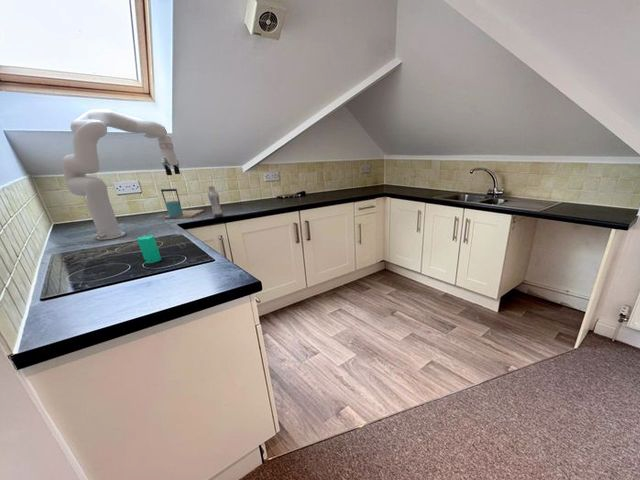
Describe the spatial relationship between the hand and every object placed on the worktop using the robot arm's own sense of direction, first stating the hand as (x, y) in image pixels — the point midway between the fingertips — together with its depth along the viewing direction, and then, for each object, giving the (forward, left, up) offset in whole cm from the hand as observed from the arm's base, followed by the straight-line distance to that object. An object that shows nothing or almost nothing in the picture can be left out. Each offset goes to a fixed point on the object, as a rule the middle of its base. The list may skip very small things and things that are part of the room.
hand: (173, 174), depth 200 cm
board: (+1, 0, -27) cm, 27 cm away
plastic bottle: (-12, -28, -28) cm, 41 cm away
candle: (-93, -33, -28) cm, 102 cm away
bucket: (-3, +2, -17) cm, 17 cm away
